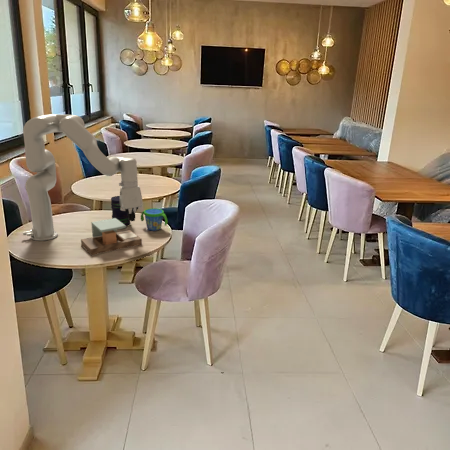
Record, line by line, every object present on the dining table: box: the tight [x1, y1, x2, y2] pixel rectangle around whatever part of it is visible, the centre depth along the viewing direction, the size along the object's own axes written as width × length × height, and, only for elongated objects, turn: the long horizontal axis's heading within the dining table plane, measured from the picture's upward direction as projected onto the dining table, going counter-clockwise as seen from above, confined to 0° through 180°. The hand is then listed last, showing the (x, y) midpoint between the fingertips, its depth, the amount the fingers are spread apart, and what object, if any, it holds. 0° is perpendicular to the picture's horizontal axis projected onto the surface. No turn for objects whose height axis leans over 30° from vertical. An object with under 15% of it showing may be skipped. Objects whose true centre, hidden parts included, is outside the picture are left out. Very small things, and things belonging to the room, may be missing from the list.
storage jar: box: [110, 195, 131, 227], centre depth 225 cm, size 10×10×15 cm
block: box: [102, 230, 117, 245], centre depth 198 cm, size 5×5×6 cm
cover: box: [90, 218, 127, 237], centre depth 197 cm, size 12×13×8 cm
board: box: [80, 229, 143, 256], centre depth 199 cm, size 25×14×3 cm, turn 126°
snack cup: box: [140, 207, 169, 232], centre depth 221 cm, size 16×10×10 cm
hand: (132, 220), depth 202 cm, fingers closed
